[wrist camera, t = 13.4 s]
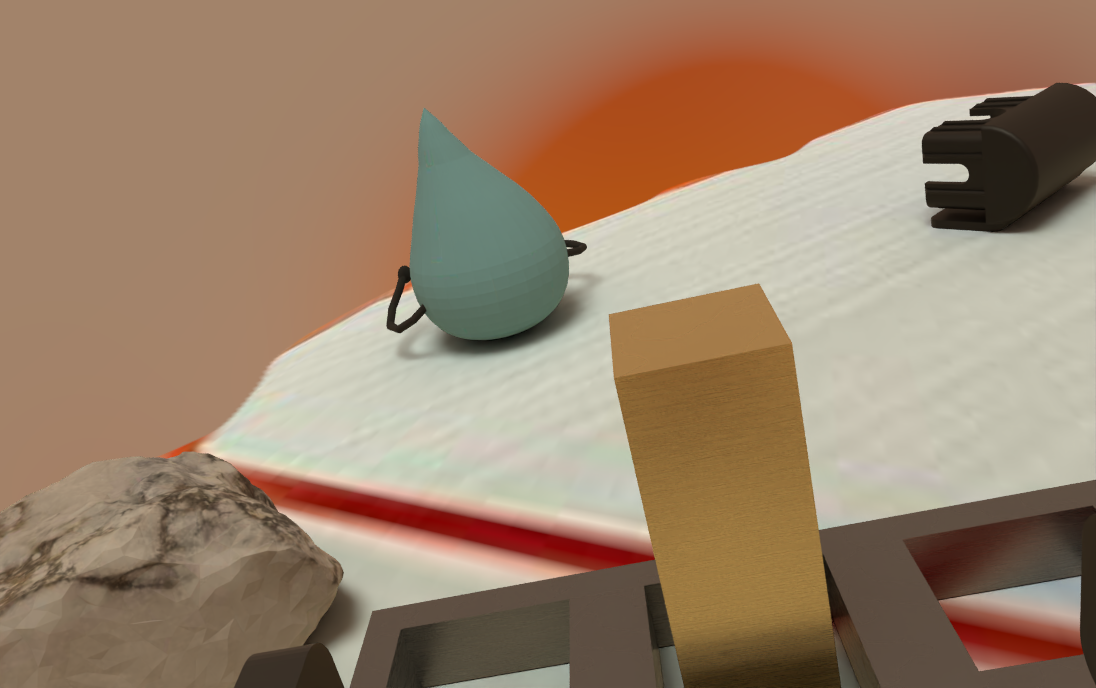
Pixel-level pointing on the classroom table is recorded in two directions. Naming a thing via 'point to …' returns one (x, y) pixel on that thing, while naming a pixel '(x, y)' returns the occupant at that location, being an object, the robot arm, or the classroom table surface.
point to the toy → (478, 246)
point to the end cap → (1010, 156)
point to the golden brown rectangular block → (727, 489)
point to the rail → (853, 591)
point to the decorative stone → (153, 577)
